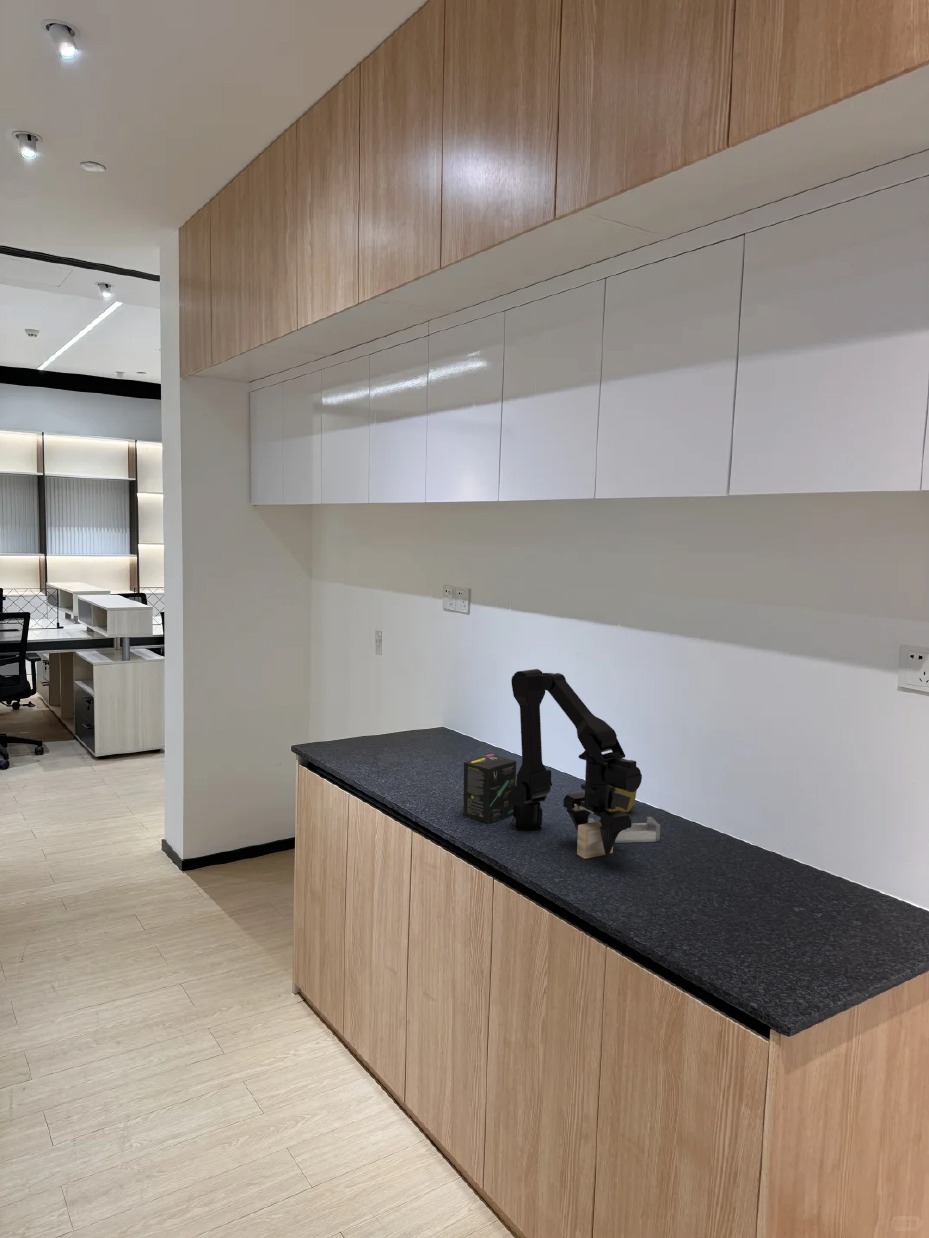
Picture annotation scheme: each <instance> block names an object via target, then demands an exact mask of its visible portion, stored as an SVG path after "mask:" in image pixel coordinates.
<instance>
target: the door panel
mask: <svg viewBox="0 0 929 1238" xmlns="http://www.w3.org/2000/svg"><path fill="white" fill-rule="evenodd" d="M600 827H602V825H601V823H600V820H598V821H595V822H592V823H586V824H581V825H578V832H577V839H576V840H577V843H576V844H577V845H576V855H578V856H579V857H581V858H583V859H584V860H585V859H590V858H594V857H600V856H604V855H605V856H606V854H605V851H604V847H603V842H602V837H601V832H600ZM613 849H614V846H613V847H612V849H611V852H610V854H613V853H614V852H613Z"/></svg>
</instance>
